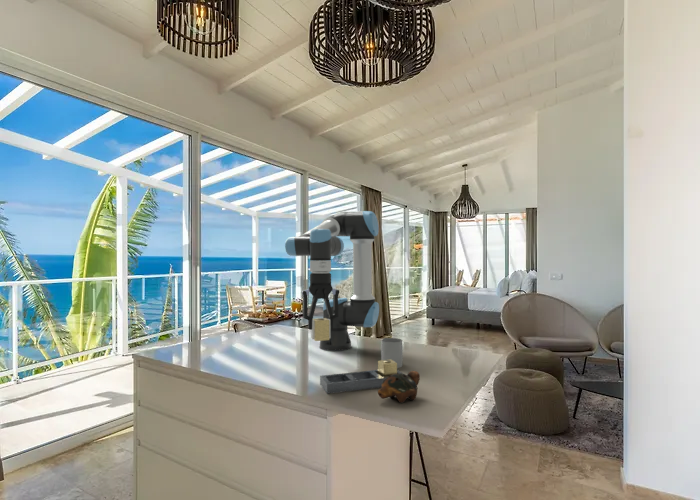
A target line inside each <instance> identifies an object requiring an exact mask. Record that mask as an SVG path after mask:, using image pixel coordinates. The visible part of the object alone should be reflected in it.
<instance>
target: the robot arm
mask: <svg viewBox="0 0 700 500" xmlns="http://www.w3.org/2000/svg"><path fill="white" fill-rule="evenodd" d="M376 215H377V214H375V212H374V211H369V210H358V211H357V210H356V211H342V212H338V213H335V214H332V215H330V216H328V217H326V218H324V219H323V220H322V221H321V223H320V224H318V225H317V226H315V227H313V228H311V229H310V230H307V231H306V232H305V233H303V234H301V235H299V236H295V235H294V236H289V237H287V239H286V240H285V243H284V247H285V252H286V254H287V255H289V256H292V257H294V256H295V257H306V256H307V257H309V258H310V259H309V272H311V273H310V274H309V286H308V288H307V289H304V290H301V295H302V318H303V319H304V320H307V328H308V330H310V338H311V339H312V340H314V339H315V322H314V320H312V319H314V315H315V310H316V307H317V303H318V301H319V300H320V299H323V301H324V302H323V309H322V318H327V319H328V320H329V340H324V341H319V348H320V349H322V350H324V351H325V350H326V351H345V350H346V351H347V350H348V349H349V350H350V349H351V348H352V341H351V337H350V335H349V331H348V327H360V328H362V327H363V328H372V327H374V326H375V325H376V324H377V321H378V319H379V315H380V314H379V313H380V304H379V302H377V301H376V297H375V296H374V295H373V294H372V293H373V292H372V289H373V287H372V285H373V284H372V280H373V278H372V276H373V275H372V273H373V272H372V269H373V268H372V262H373V261H372V243H374V241H375V238H376V237H377V236H378V235H379V231H380V230H379V229H380V228H379V221H378V218H377V216H376ZM340 237H349V241H350V242H351V243H352V246H353V247H352V248H353V249H352V254H353V255H352V257H353V258H352V259H353V260H352V262H353V264H352V266H353V267H352V269H353V272H352V273H353V287H352V288H353V295H352V296H351V297H350V299H349V298H347V297H340V298H339V294H340V289H337V288H334V287H333V286H332V273H330V272H332V257H336V256H339V255H340V254H342V253H343V251H344V249H345V243H344V241H343V239H342V238H340ZM331 293H332V299H330V297H329V295H330V294H331ZM309 294H311V296H312V299H311V304H310V306H309V307H310V308H309V309H308V304H309V303H308V301H309V299H308V298H309V297H308V296H309ZM308 310H309V311H308ZM308 312H309V313H308Z"/></svg>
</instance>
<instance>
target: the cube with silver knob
mask: <svg viewBox="0 0 700 500" xmlns="http://www.w3.org/2000/svg"><path fill="white" fill-rule="evenodd" d="M312 320H314V322H315V339H313V341H315V342H320V341H324V340H329V320H328V319H327V318H323V317H318V318H313V319H312Z"/></svg>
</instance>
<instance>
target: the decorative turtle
mask: <svg viewBox="0 0 700 500" xmlns="http://www.w3.org/2000/svg"><path fill="white" fill-rule="evenodd" d="M402 373H403V372H402ZM402 373H398V374H393V375H391V376H389V377H387V378H386V379H384V381H383V382H382V387H380V388H378V390H377V393H378V396H379V397H380V399H388V398H390V399H395V397H396V399H397V401H398V402H399V403H400V404H404V403H405V402H406V400H407V399H409V400H410V401H415V400H416V398H417V395H418V385H419V383H420V380H421V377H420V373H419V372H418V371H415V370H411V371H409V372H408V373H407V374H405V373H403V374H402Z"/></svg>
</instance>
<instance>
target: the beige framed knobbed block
mask: <svg viewBox="0 0 700 500" xmlns="http://www.w3.org/2000/svg"><path fill="white" fill-rule="evenodd" d="M377 370H378V374H379V375H380V376H381V377H387V376H391V375H393V374H397V370H398V368H397V363H396V362H394V361H393V360H391V359H390V360H381V359H380V360H377Z"/></svg>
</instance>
